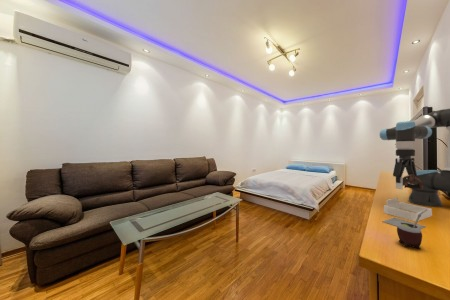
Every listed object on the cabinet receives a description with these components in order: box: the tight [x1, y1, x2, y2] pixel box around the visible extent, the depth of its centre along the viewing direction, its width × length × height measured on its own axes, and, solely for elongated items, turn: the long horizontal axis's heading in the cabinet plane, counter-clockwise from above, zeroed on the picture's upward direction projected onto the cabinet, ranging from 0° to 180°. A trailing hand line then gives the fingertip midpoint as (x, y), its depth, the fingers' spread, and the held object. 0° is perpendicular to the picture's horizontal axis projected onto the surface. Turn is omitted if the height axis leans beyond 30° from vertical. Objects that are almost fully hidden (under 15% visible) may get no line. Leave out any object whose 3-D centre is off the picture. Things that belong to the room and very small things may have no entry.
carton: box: [383, 197, 433, 222], centre depth 101 cm, size 18×14×7 cm
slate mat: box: [382, 217, 427, 230], centre depth 88 cm, size 12×12×1 cm
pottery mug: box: [403, 174, 423, 190], centre depth 94 cm, size 12×9×8 cm
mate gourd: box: [396, 210, 427, 250], centre depth 70 cm, size 8×8×15 cm
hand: (404, 187), depth 97 cm, fingers closed on pottery mug, 11 cm apart
